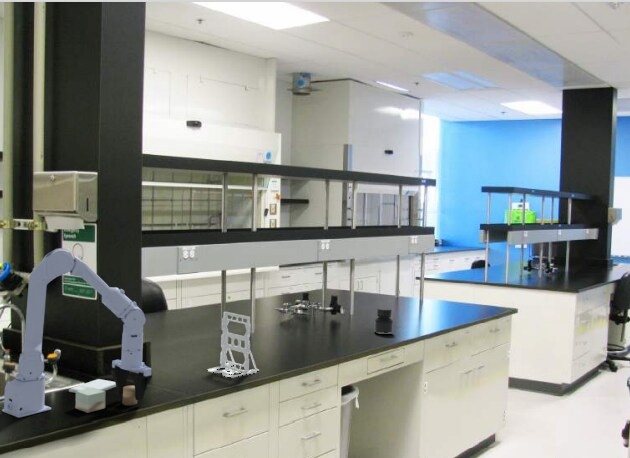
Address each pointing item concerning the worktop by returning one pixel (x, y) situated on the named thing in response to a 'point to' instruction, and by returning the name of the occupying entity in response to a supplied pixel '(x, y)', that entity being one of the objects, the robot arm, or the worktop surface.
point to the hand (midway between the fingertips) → (130, 396)
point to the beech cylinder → (129, 395)
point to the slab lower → (90, 406)
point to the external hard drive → (95, 385)
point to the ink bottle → (383, 320)
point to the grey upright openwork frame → (234, 348)
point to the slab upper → (90, 395)
